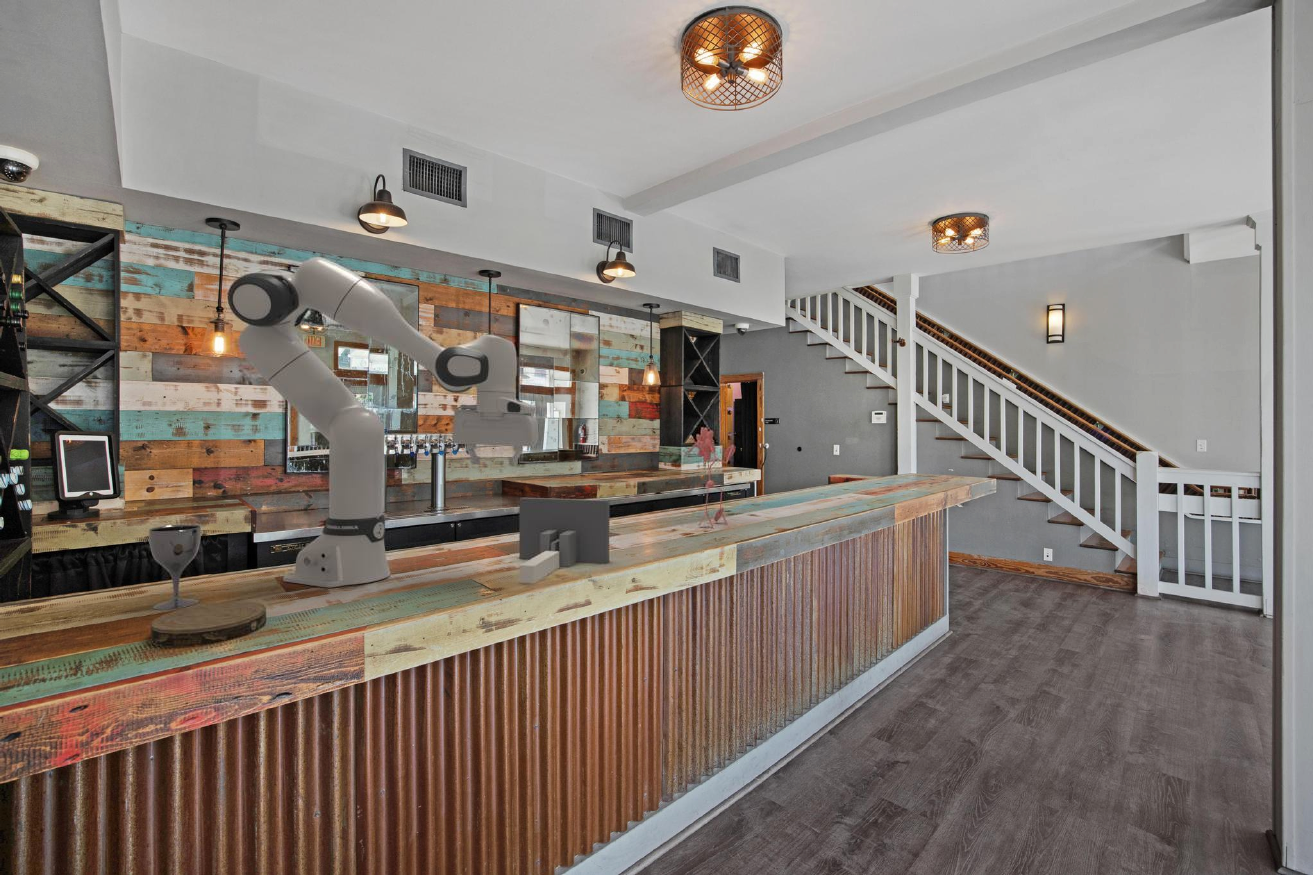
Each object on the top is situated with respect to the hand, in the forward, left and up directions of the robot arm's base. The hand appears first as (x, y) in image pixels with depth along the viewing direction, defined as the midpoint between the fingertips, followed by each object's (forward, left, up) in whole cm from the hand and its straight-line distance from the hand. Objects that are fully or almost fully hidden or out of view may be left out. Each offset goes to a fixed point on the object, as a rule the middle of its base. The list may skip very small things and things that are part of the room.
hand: (494, 465), depth 143 cm
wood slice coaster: (-30, -45, -27) cm, 60 cm away
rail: (+10, +7, -26) cm, 29 cm away
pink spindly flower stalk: (+39, +86, -26) cm, 98 cm away
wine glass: (-50, -34, -26) cm, 66 cm away
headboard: (+10, +16, -26) cm, 32 cm away
